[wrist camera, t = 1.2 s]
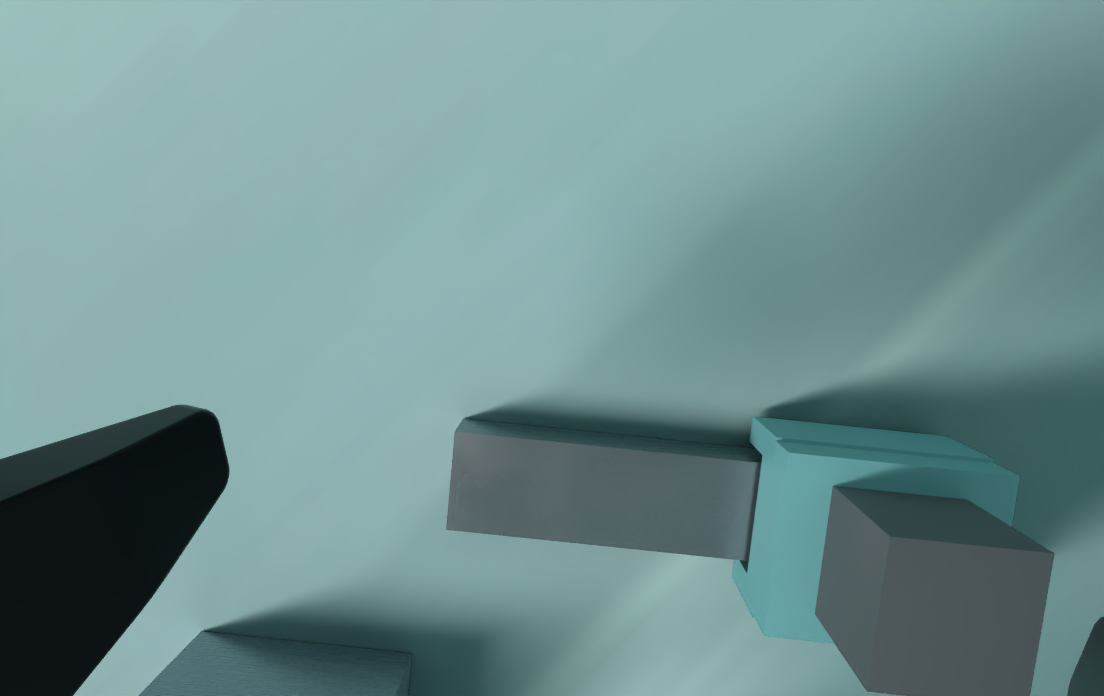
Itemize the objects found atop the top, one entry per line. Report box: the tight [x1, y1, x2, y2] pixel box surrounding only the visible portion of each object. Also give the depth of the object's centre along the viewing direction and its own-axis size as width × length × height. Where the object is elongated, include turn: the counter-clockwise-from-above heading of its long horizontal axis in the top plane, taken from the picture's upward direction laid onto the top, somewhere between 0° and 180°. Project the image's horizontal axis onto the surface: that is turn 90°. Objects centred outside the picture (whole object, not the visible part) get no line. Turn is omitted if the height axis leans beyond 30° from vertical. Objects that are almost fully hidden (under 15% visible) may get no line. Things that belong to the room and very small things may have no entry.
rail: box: [446, 419, 763, 561], centre depth 26 cm, size 15×3×2 cm, turn 84°
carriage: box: [732, 416, 1054, 696], centre depth 23 cm, size 6×5×8 cm
